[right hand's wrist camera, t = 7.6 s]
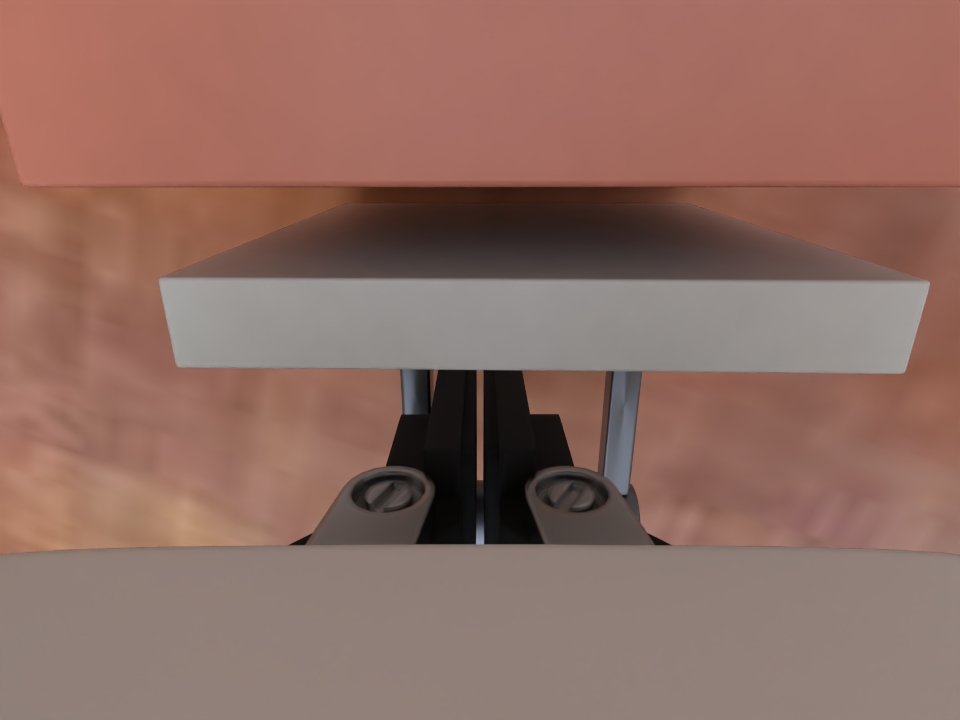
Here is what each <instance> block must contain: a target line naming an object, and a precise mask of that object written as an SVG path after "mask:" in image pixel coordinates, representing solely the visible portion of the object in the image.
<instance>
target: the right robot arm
mask: <svg viewBox="0 0 960 720" xmlns="http://www.w3.org/2000/svg"><path fill="white" fill-rule="evenodd" d="M483 493H484V544H476V509H477V372H476V370H438V375H437V380H436V386H435V391H434V396H433V402H432V407H431V412H430V414H402V415H401V417H400V420H399V424H398V427H397V431H396V434H395V437H394V441H393V444H392V447H391V451H390V454H389V458H388V461H387V464H386V467H380V468H374V469H371V470H368V471H365V472H362V473H360V474H359V475H357V476H355V477H354V478H352V479H351V480H350V481H349V482H348V483H347V484H346V485H345V486H344V487H343V489H342V490H341V492H340V493H339V495H338V496H337V498H336V499H335V501H334V502H333V504H332V505H331V507H330V508H329V510H328V511H327V513H326V514H325V516H324V517H323V519H322V520H321V522H320V523H319V525H318V526H317V528H316V529H315V531H314V532H313V533H312V534H310V535H308V536H306V537H304V538H302V539H300V540H298V541H296V542H294V543H292V544H290V545H286V546H193V547H139V548H106V549H74V550H54V551H40V552H25V553H11V554H2V555H0V720H960V555H957V554H948V553H937V552H921V551H904V550H888V549H855V548H817V547H780V546H672V545H670V544H668V543H666V542H664V541H662V540H660V539H658V538H656V537H654V536H652V535H650V534H648V533H647V532H646V531H645V529H644V528H643V526H642V525H641V523H640V522H639V520H638V519H637V517H636V516H635V514H634V513H633V511H632V510H631V508H630V507H629V505H628V504H627V502H626V501H625V499H624V498H623V496H622V495H621V493H620V492H619V490H618V489H617V487H616V486H615V485H614V484H613V483H612V482H611V481H610V480H609V479H608V478H606V477H605V476H603V475H601V474H600V473H598V472H595V471H592V470H589V469H586V468H580V467H574V464H573V461H572V457H571V454H570V450H569V447H568V444H567V440H566V437H565V433H564V430H563V427H562V423H561V420H560V417H559V415H558V414H530V412H529V406H528V401H527V396H526V390H525V385H524V380H523V374H522V370H484V448H483Z"/></svg>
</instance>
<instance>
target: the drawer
mask: <svg viewBox="0 0 960 720" xmlns="http://www.w3.org/2000/svg"><path fill="white" fill-rule="evenodd" d="M159 286H160V290H161V295H162V300H163V305H164V310H165V314H166V319H167V324H168V329H169V334H170V338H171V343H172V348H173V353H174V357H175V362H176V365H177V367H194V368H308V369H400V374H401V391H402V409H403V414H430V412H431V407H432V402H433V396H434V389H433V370H537V371H606V380H605V392H604V404H603V416H602V428H601V440H600V452H599V464H598V473H600V474H601V475H603V476H605V477H606V478H608V479H609V480H610V481H611V482H612V483H613V484H614V485H615V486H616V487H617V489H618V490H619V492H620V493H621V495H622V496H623V498H624V499H625V501H626V502H627V504H628V505H629V507H630V508H631V510H632V511H633V513H634V514H635V516H636V517H637V519H638V520H639V522H640V512H639V505H638V500H637V496H636V493H635V490H634V488H633V486H632V485H631V484H630V478H631V469H632V460H633V450H634V441H635V432H636V423H637V413H638V404H639V395H640V386H641V376H642V371H651V372H765V373H880V374H902V373H904V372H905V371H906V367H907V364H908V360H909V357H910V353H911V350H912V346H913V343H914V339H915V336H916V333H917V329H918V326H919V322H920V319H921V315H922V312H923V308H924V305H925V301H926V298H927V294H928V291H929V287H930V282H929V281H927V280H924V279H921V278H918V277H915V276H912V275H909V274H906V273H903V272H899V271H896V270H893V269H890V268H887V267H884V266H881V265H878V264H875V263H871V262H868V261H865V260H862V259H859V258H856V257H853V256H850V255H847V254H843V253H840V252H837V251H834V250H831V249H828V248H825V247H822V246H819V245H815V244H812V243H809V242H806V241H803V240H800V239H797V238H794V237H791V236H788V235H784V234H781V233H778V232H775V231H772V230H769V229H766V228H763V227H760V226H756V225H753V224H750V223H747V222H744V221H741V220H738V219H735V218H732V217H728V216H725V215H722V214H719V213H716V212H713V211H710V210H707V209H704V208H701V207H697V206H694V205H691V204H688V203H345V204H343V205H340V206H338V207H335V208H333V209H330V210H328V211H325V212H323V213H320V214H318V215H315V216H313V217H310V218H308V219H305V220H303V221H300V222H298V223H295V224H293V225H290V226H288V227H285V228H283V229H280V230H278V231H275V232H273V233H270V234H268V235H265V236H263V237H260V238H258V239H255V240H253V241H250V242H248V243H245V244H243V245H241V246H238V247H236V248H233V249H231V250H228V251H226V252H223V253H221V254H218V255H216V256H213V257H211V258H208V259H206V260H203V261H201V262H198V263H196V264H193V265H191V266H188V267H186V268H183V269H181V270H178V271H176V272H173V273H171V274H168V275H166V276H163V277H161V278H160V279H159ZM476 544H484V493H483V480H477V509H476Z"/></svg>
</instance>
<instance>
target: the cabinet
mask: <svg viewBox="0 0 960 720" xmlns="http://www.w3.org/2000/svg"><path fill="white" fill-rule="evenodd" d="M0 114H1V118H2V121H3V125H4V128H5V132H6V135H7V139H8V143H9V146H10V150H11V153H12V157H13V160H14V164H15V168H16V171H17V175H18V178H19V181H20V182H21V184H22V185H25V186H28V187H960V0H0Z"/></svg>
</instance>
